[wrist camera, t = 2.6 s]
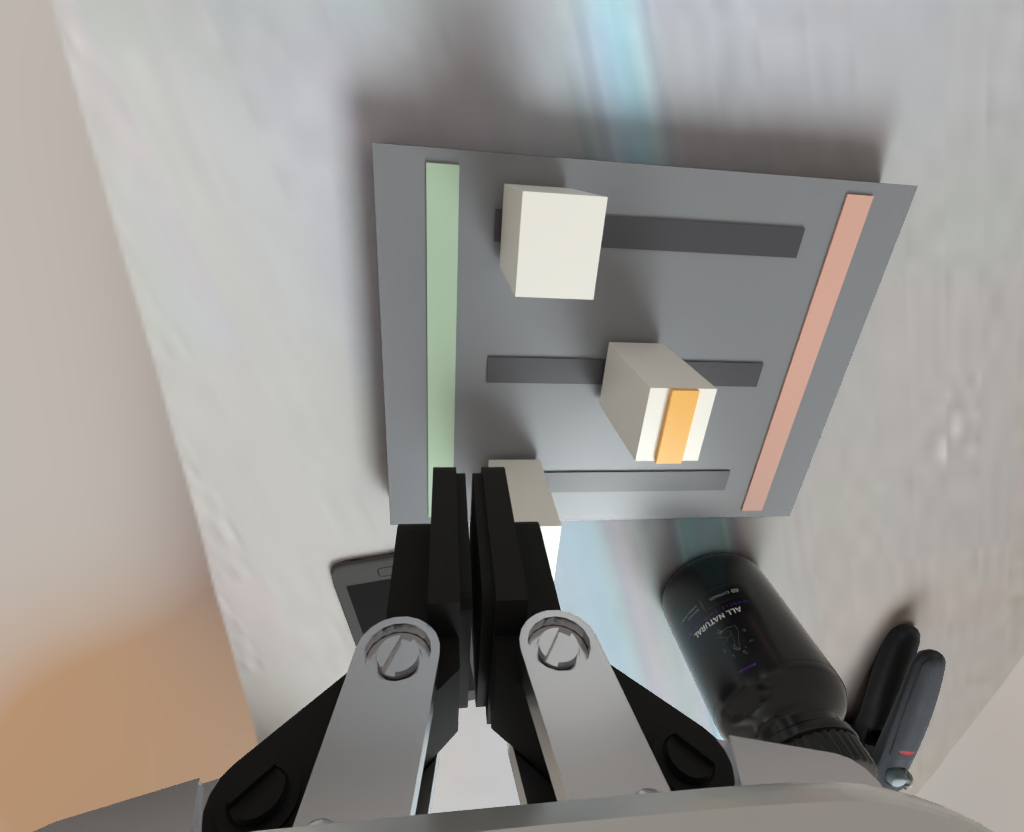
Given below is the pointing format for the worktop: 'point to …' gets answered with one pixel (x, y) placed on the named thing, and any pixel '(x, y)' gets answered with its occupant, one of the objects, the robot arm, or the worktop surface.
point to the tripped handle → (656, 402)
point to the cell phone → (371, 596)
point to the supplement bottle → (757, 659)
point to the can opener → (899, 705)
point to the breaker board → (620, 326)
